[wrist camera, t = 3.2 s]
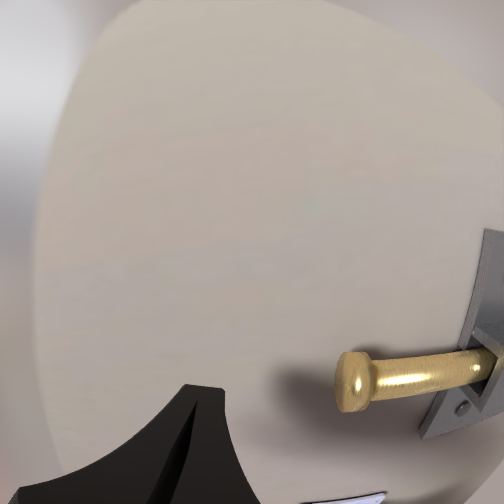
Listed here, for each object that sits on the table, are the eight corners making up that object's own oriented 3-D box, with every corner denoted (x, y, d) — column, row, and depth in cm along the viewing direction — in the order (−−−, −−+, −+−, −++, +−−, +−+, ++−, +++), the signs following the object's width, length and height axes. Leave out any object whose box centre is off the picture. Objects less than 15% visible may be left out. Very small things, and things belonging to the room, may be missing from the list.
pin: (510, 359, 12) (531, 377, 9) (331, 387, 12) (343, 424, 9) (523, 324, 11) (547, 340, 9) (342, 340, 11) (360, 375, 9)
